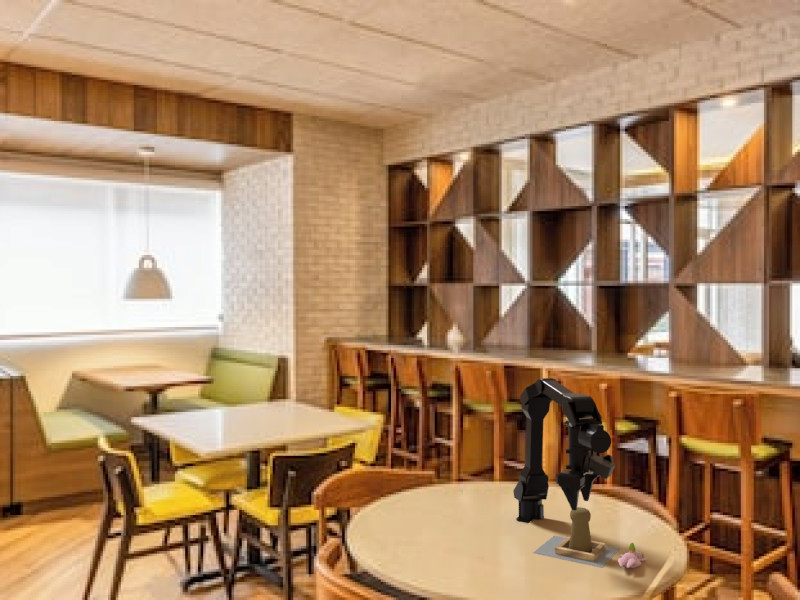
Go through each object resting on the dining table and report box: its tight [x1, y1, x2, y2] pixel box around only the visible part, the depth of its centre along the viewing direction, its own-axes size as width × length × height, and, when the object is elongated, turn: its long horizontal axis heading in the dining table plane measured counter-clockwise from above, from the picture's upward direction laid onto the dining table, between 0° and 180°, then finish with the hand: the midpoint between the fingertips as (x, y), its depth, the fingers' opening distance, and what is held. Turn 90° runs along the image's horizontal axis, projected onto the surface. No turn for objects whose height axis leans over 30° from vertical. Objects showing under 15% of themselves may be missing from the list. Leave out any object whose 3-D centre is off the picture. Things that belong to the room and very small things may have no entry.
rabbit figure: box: [617, 542, 647, 569], centre depth 168 cm, size 6×6×15 cm
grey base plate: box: [532, 535, 621, 568], centre depth 177 cm, size 18×15×1 cm
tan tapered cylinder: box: [569, 506, 592, 553], centre depth 176 cm, size 6×6×11 cm
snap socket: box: [555, 535, 607, 562], centre depth 176 cm, size 10×10×2 cm
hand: (580, 505), depth 176 cm, fingers open, 9 cm apart
